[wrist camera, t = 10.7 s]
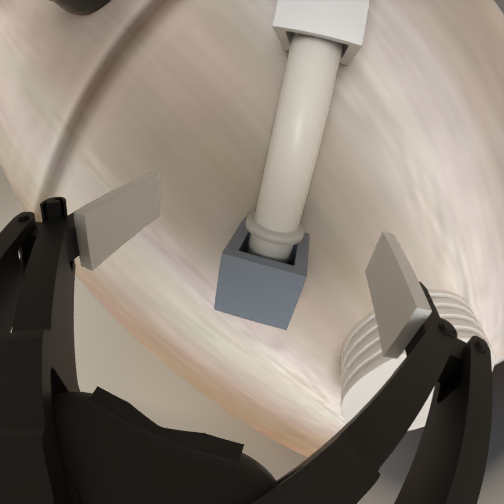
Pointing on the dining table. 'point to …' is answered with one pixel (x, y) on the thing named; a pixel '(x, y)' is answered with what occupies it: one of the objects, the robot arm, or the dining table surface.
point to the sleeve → (323, 22)
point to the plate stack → (381, 368)
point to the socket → (260, 282)
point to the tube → (294, 146)
